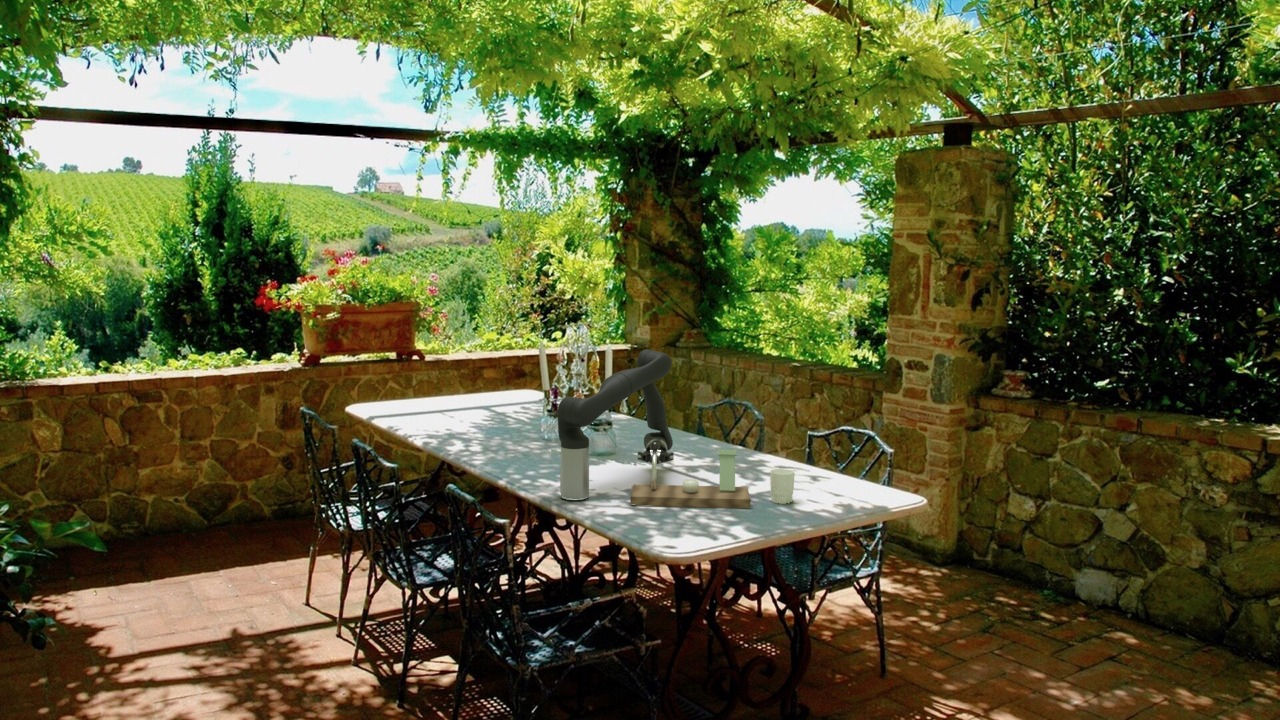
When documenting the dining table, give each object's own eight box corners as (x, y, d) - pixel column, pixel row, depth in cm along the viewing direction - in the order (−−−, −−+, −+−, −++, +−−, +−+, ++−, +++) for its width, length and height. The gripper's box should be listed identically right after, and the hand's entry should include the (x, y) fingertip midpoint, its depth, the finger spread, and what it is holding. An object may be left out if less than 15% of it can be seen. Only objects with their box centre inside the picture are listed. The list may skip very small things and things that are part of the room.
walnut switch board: (630, 505, 307) (630, 496, 307) (633, 493, 323) (633, 484, 323) (750, 508, 305) (750, 499, 305) (747, 495, 321) (747, 487, 321)
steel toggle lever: (648, 487, 313) (649, 440, 318) (648, 489, 316) (650, 442, 321) (658, 488, 313) (659, 440, 318) (658, 490, 316) (659, 443, 321)
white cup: (796, 500, 317) (797, 470, 315) (790, 505, 309) (790, 475, 308) (773, 497, 320) (774, 467, 319) (766, 502, 313) (767, 472, 312)
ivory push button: (682, 492, 311) (682, 482, 311) (682, 488, 316) (682, 479, 316) (698, 492, 311) (698, 483, 311) (698, 489, 316) (698, 479, 316)
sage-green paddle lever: (718, 489, 313) (718, 449, 317) (717, 491, 315) (718, 450, 319) (736, 490, 312) (736, 449, 317) (736, 491, 314) (736, 451, 318)
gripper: (637, 440, 338) (634, 450, 321) (675, 440, 338) (674, 451, 320) (637, 460, 339) (634, 472, 322) (675, 461, 338) (674, 473, 321)
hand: (654, 461), depth 321 cm, fingers closed
